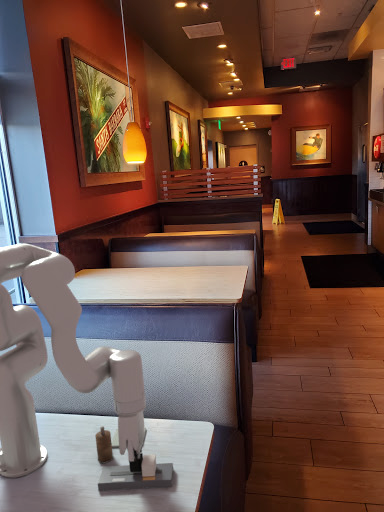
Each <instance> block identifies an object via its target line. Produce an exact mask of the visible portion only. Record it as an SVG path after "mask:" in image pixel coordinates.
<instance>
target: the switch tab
mask: <svg viewBox="0 0 384 512" xmlns="http://www.w3.org/2000/svg"><path fill="white" fill-rule="evenodd" d="M156 464H157V455H156V454H143V461H142V476H143V477H146V476H155V471H156Z"/></svg>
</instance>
